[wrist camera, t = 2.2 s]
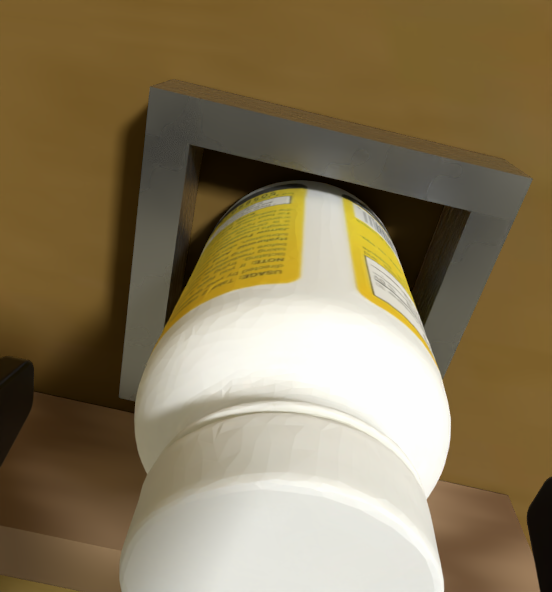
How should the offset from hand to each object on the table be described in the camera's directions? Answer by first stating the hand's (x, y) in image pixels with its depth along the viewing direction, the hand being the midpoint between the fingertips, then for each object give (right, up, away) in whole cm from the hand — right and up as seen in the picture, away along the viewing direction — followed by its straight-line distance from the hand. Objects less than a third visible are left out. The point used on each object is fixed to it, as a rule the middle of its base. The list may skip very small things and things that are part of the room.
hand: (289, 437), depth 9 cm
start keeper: (0, +3, +6) cm, 7 cm away
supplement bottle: (0, +3, +6) cm, 7 cm away
